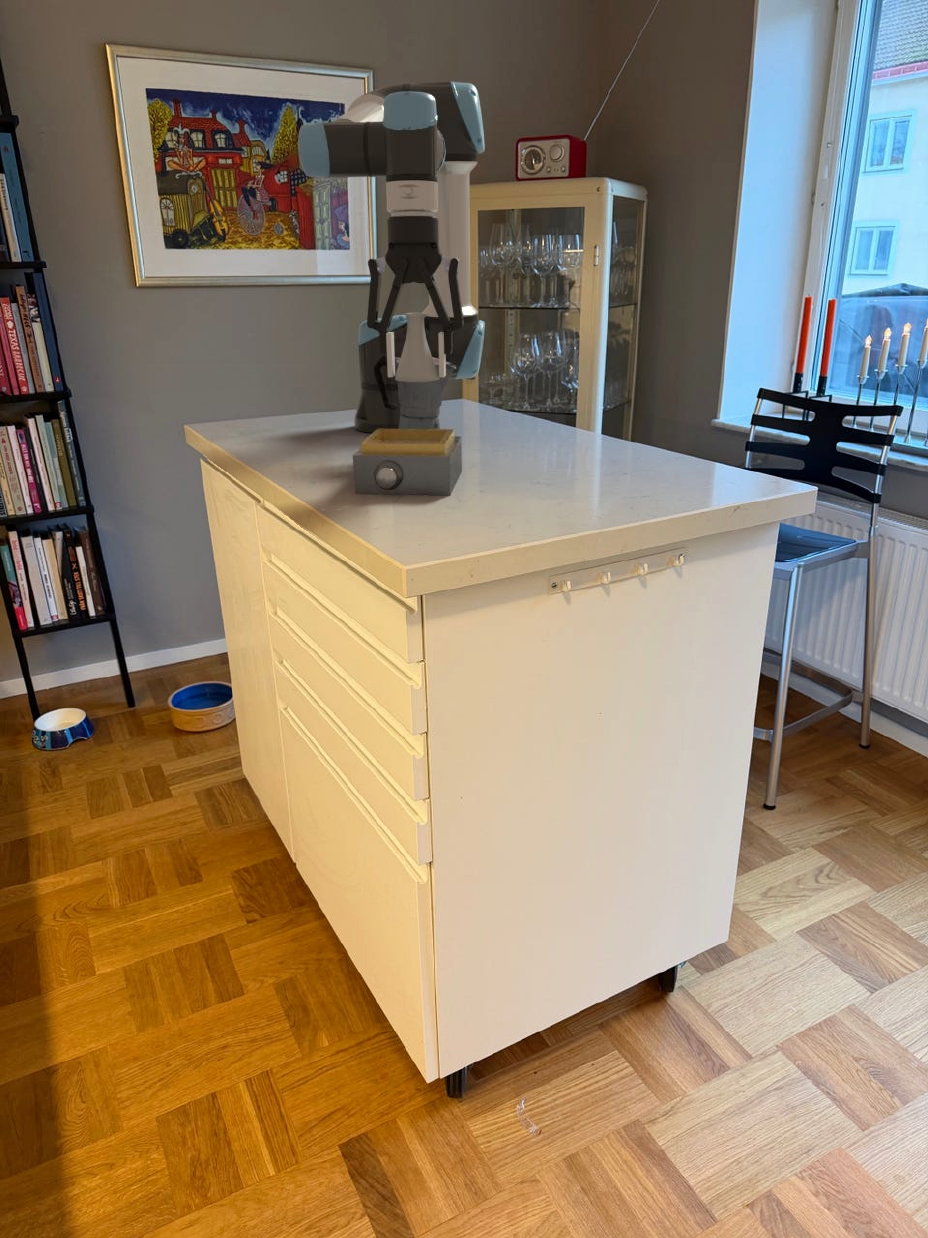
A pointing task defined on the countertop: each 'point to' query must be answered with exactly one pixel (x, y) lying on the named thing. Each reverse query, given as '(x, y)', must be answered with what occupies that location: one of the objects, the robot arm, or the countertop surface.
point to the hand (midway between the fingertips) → (416, 375)
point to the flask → (416, 353)
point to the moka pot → (416, 397)
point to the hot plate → (408, 462)
